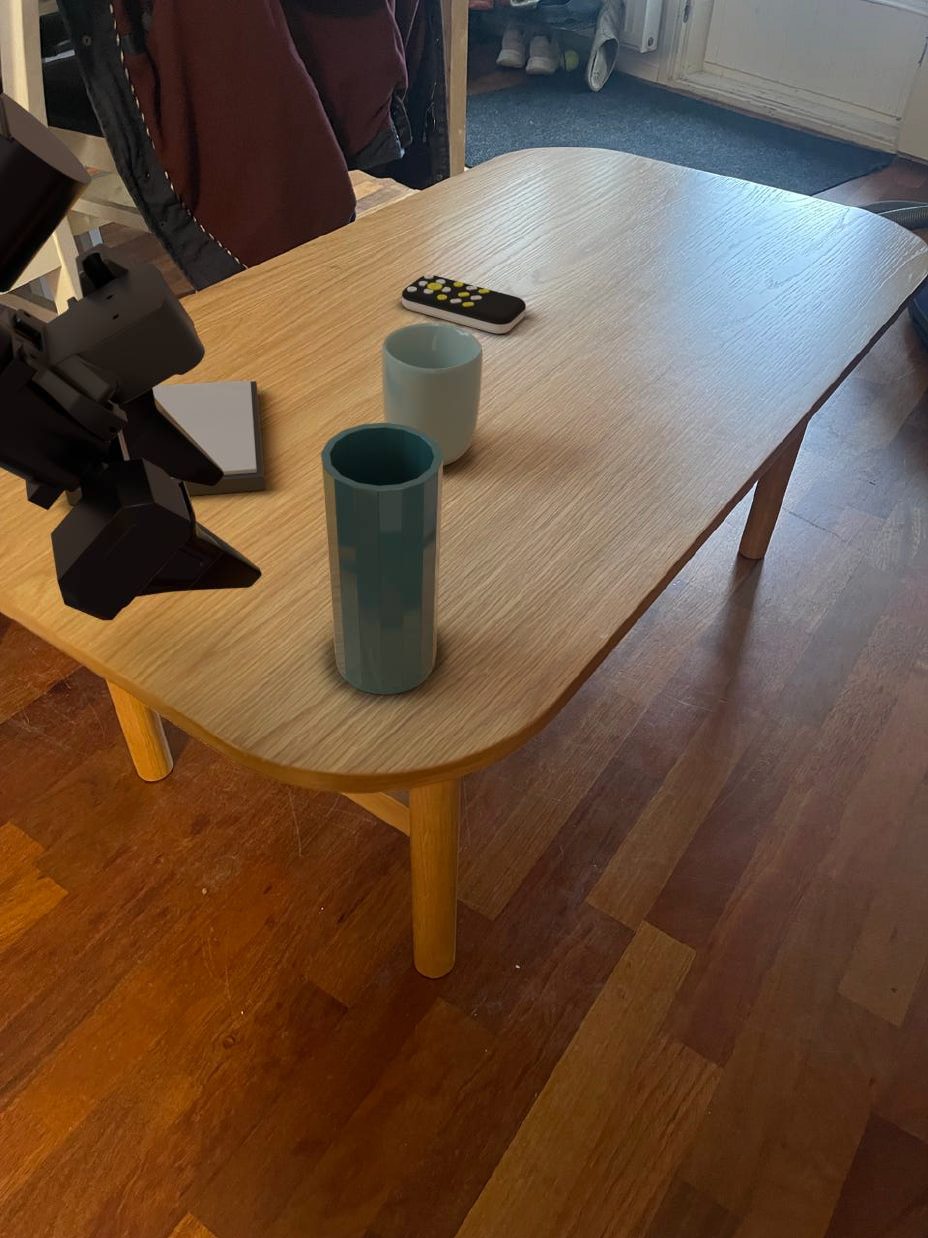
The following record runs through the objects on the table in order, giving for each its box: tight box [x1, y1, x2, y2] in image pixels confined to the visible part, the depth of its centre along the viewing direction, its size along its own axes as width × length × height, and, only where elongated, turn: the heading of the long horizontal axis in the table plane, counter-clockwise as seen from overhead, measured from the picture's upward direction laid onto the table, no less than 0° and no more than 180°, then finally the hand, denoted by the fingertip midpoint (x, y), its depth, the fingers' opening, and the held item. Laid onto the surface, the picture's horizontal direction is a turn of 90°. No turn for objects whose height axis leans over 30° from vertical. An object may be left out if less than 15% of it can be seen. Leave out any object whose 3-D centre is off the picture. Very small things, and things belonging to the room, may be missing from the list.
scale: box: [64, 379, 266, 506], centre depth 79 cm, size 15×15×2 cm
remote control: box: [401, 273, 527, 334], centre depth 100 cm, size 6×13×2 cm, turn 63°
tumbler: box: [320, 422, 444, 696], centre depth 57 cm, size 7×7×16 cm
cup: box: [381, 322, 484, 467], centre depth 77 cm, size 8×8×10 cm
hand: (236, 526), depth 51 cm, fingers open, 9 cm apart
